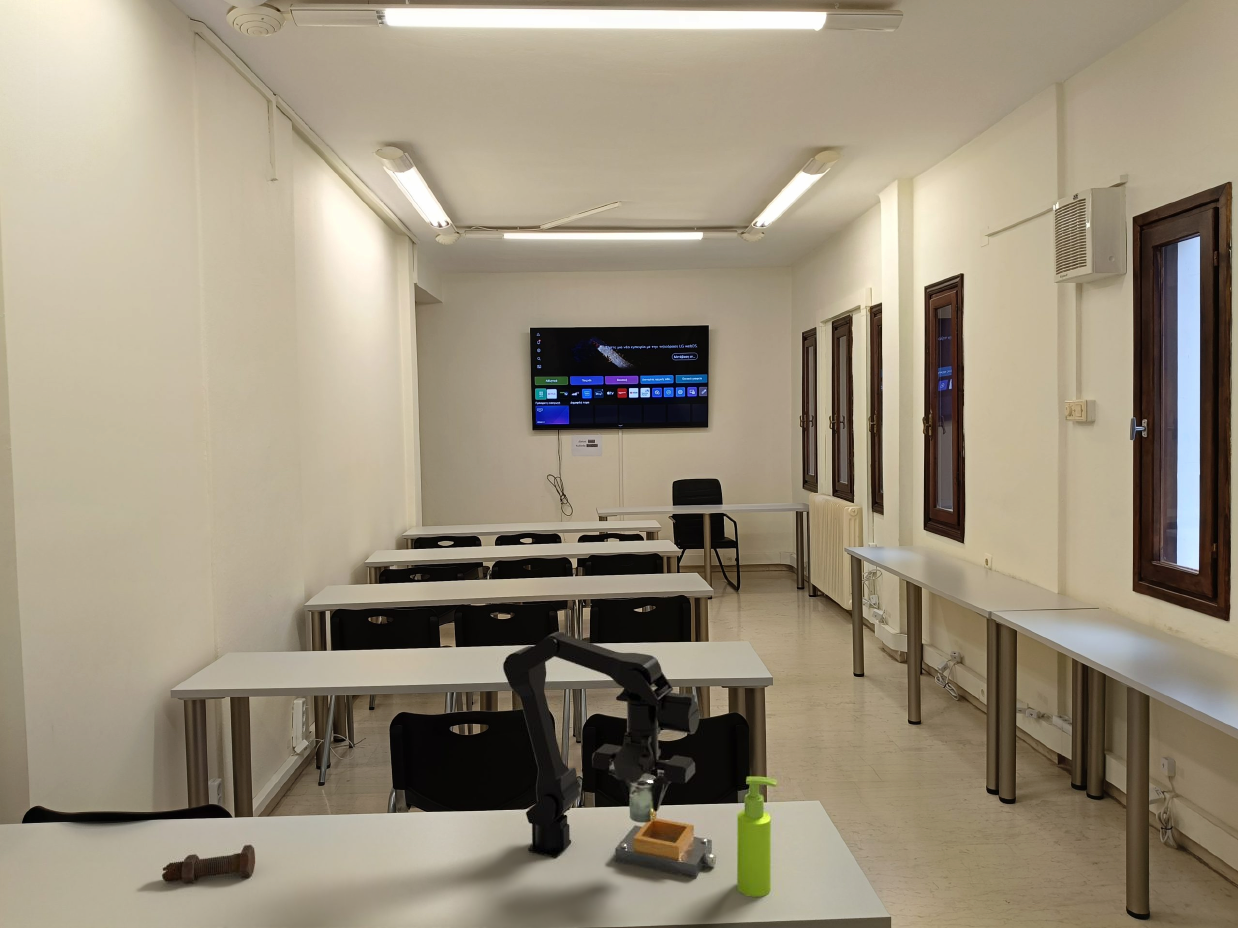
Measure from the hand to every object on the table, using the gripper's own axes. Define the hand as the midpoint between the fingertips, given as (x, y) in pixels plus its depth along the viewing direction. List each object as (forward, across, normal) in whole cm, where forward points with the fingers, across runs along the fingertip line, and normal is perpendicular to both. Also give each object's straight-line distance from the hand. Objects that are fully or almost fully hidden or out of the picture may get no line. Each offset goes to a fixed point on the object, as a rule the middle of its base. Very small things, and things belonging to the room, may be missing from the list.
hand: (643, 807), depth 158 cm
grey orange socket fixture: (+12, +2, +6) cm, 13 cm away
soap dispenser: (+12, +21, +2) cm, 24 cm away
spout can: (+1, 0, -1) cm, 2 cm away
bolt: (+12, -72, -36) cm, 81 cm away
